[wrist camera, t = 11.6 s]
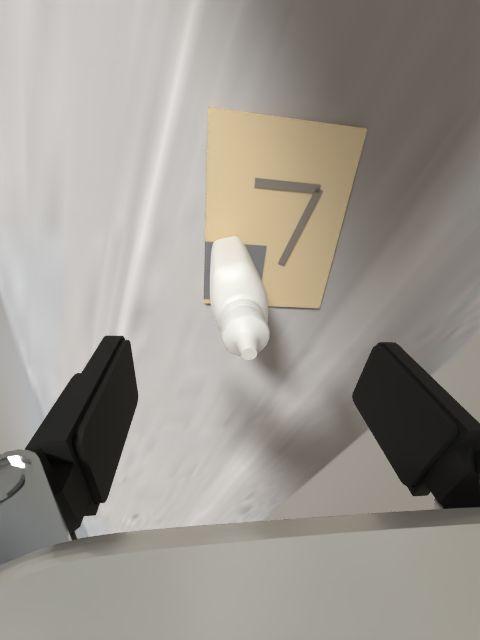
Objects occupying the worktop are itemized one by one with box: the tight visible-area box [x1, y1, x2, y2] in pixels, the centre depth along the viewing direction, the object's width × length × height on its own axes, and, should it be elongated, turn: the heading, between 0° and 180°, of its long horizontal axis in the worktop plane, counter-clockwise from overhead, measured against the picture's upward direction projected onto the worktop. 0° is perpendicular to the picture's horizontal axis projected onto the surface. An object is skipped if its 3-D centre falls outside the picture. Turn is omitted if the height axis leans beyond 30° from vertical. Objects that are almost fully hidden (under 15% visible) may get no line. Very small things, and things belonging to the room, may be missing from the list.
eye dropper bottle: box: [210, 236, 270, 361], centre depth 17 cm, size 4×6×12 cm
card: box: [204, 107, 368, 308], centre depth 21 cm, size 14×11×1 cm
